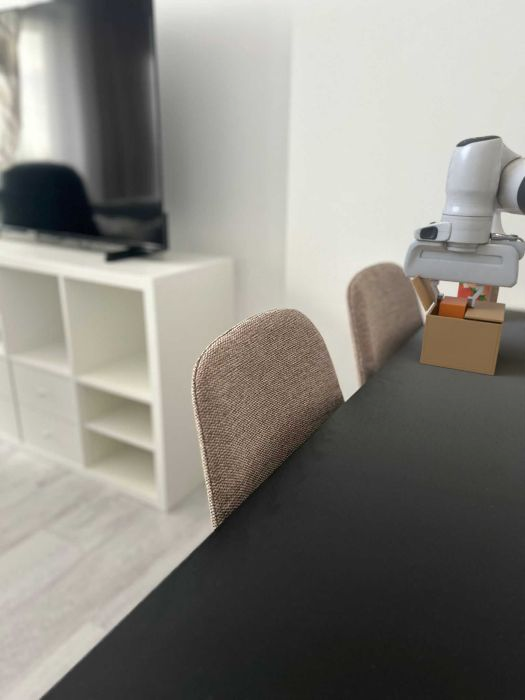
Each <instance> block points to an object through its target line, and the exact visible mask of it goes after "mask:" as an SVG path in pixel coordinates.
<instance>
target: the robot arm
mask: <svg viewBox="0 0 525 700" xmlns="http://www.w3.org/2000/svg"><path fill="white" fill-rule="evenodd" d="M444 189H445V191H444V192H445V203H444V206H443V208H442V212H441V217H440V220H439V221H432V222H430V223H426V224H423V225H419V226H417V227H416V228H414V232H413V238H414V239H415V240H413V241H412V242H411V243H410V244H409V245H408V247H407V250H406V253H405V257H404V262H403V267H402V273H403V274H404V276H405V278H410V279H411V278H412V279H414V278H415V277H416V276H417V275H419V277H420V279H430V280H431V283H430V286H431V288H432V290H433V292H434V294H435V299H434V302H433V304H434V303H438V304H440V303H441V301H442V300H443V298H444V297H445V293H444V292H443V293H441V292H440V290H439V288H438V286H439V285H440V281H442V282H449V283H450V282H451V283H458V284H459V283H469V284H476V290H478V291H477V292H476V293H475V294H474V296H473V297H469V296H468V298H467V305H466V307H471V308H474V307H475V302H476V299H477V298H478V297H479V295H480V294H481V293H482V292H483V290H484V286H485V285H489V286H498V287H499V288H509V289H511V288H513V287H514V286H516V285H517V284H518V280H519V279H518V278H519V270H520V261H521V260H522V259H523V258H524V256H525V240H524V239H523V238H522V237H519V235H517V234H506V233H505V234H506V235H505V234H497V233H491V230H492V224H493V218H494V211H495V210H496V211H499V212H501V213H507V214H511V215H517V216H525V157H523V155H521V154H518V153H517V152H515V151H513V150H512V149H510V148H509V147H508V146H507V145H506V143H504V141H503V138H502V137H501V136H499V135H495V134H494V135H492V134H491V135H483V136H477V137H471V138H465V139H463V140H461V141H459V142H458V143H457V144H456V145H455V147H454V148H453V151H452V153H451V156H450V160H449V164H448V169H447V174H446V180H445V188H444ZM490 239H491V240H490ZM506 240H507V241H506Z"/></svg>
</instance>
